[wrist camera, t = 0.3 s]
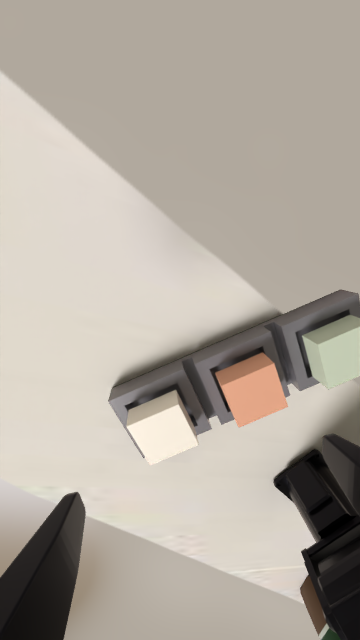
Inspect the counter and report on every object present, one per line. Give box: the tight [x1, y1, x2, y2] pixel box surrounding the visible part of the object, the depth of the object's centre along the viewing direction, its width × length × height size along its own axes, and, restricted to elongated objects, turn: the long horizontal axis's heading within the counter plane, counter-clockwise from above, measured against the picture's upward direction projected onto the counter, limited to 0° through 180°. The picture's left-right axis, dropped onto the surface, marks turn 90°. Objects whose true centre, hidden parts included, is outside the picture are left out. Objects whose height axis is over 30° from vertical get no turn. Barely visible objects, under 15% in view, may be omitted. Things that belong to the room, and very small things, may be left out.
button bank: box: [108, 290, 360, 458], centre depth 22 cm, size 23×7×2 cm, turn 113°
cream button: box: [126, 390, 199, 465], centre depth 20 cm, size 4×4×2 cm
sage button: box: [302, 315, 360, 389], centre depth 20 cm, size 4×4×2 cm
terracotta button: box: [215, 352, 288, 427], centre depth 20 cm, size 4×4×2 cm
